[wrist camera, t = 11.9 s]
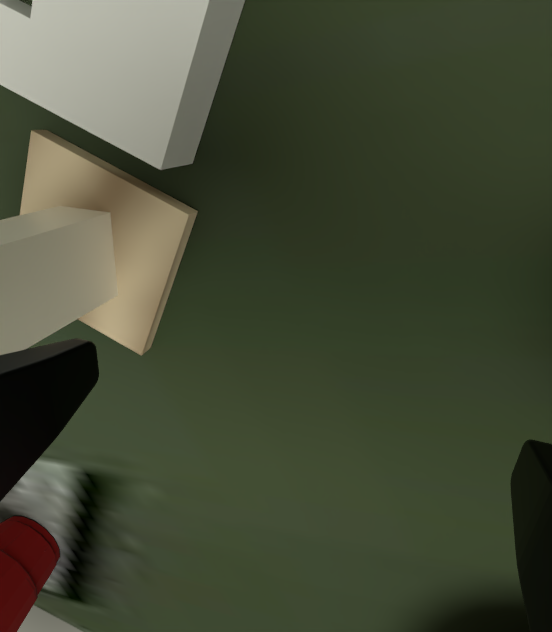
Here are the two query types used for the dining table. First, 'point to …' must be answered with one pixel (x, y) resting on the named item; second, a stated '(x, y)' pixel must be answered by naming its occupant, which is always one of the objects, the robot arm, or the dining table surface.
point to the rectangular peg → (52, 272)
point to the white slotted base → (122, 67)
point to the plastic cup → (23, 568)
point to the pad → (115, 231)
